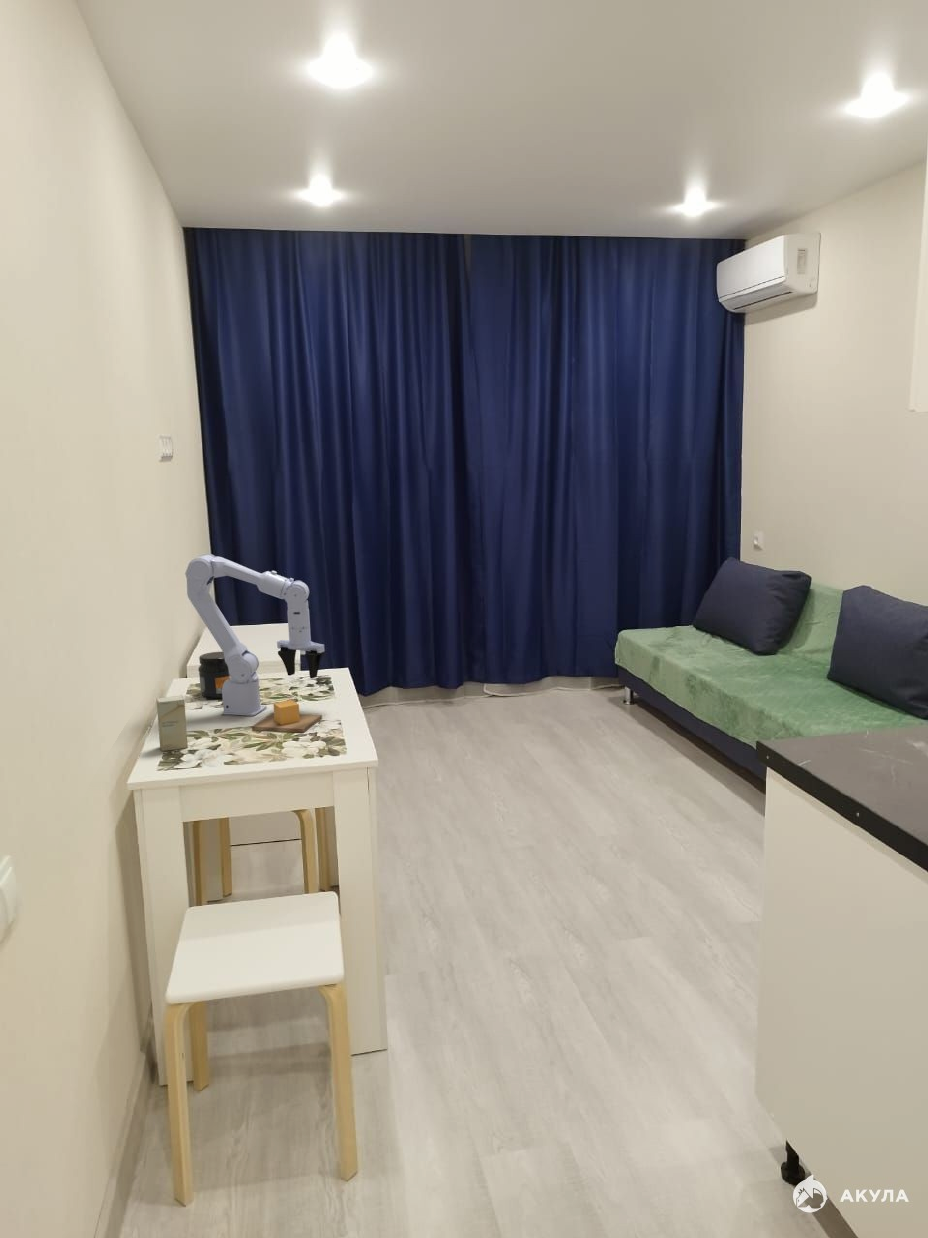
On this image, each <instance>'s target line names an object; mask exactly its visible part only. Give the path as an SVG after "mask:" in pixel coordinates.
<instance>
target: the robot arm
mask: <svg viewBox="0 0 928 1238" xmlns="http://www.w3.org/2000/svg"><path fill="white" fill-rule="evenodd" d="M277 573H278V572H277V571H276V570H271V571H269V570H267V571H264V572H262V573H261V572H259V571H256V570H254V569H251V568H248V567H246V566H245V565H244V566H243V565H242V564H239V563H237V562H234V561H232V560H229V559H227V558H224V557H222V556H216V555H214V554H212V553H204V554H201V556H199V557H197V558H196V557H195V558H193V559H191V561H190V562H189V563H188V566H187V567H186V570H185V572H184V574H185V577H186V593H187V594H186V595H187V598H188V599H189V601H190V602H191V605H193V607H194V609H195V611H196V612H197V614H198V615H199V617H200V618H201V620H202V622H203V623H204V624H205V627H206V628H207V629H208V631H209V633H210V634H211V636H212V637H213V639H214V640H215V642H216V643H217V645H218V647H220V649H221V652H223V653H224V658H225V662H226V664H227V666H228V669H229V675H230V677H231V679H227V680H226V681H225V682H224V684H223V687H222V697H223V699H222V707H223V708H222V709H223V712H222V714H223V715H229V716H230V715H231V716H232V715H235V716H251V717H253V716H256V715H258V714H259V713H260V712H262V711H264V710H265V709H266V708H268V707H267V705H261V693H260V682H259V681H260V680H259V675H258V674H257V672H256V671H257V670H258V668H259V666H260V661H259V658H258V657H257V655H255V654H254V653H253V652H251V651H250V650H249V649H248V647H247V646H246V645H245V644H243V643H242V642H241V641H240V640H239V638H238V636H237V634H236V633H235V632H234V630H233V628H232V627H231V625H230V624H229V622H228V621H227V619H226V617H225V616H224V614H223V613H222V611H221V610H220V608H219V607H218V605H217V603H216V601H215V600H214V598H213V597H212V596H211V593H210V591H211V586H212V584H213V581H214V579H215V578H221V577H226V576H228V577H231V578H234V579H236V580H237V579H238V580H240V581H244V582H247V583H250V584H252V585H256V587H257V588H258V591H259V592H261V593H264V594H266V595H270V596H272V597H275V598H278V599H281V600H284V601H285V602H286V603H287V611H286V612H287V623H288V625H287V627H288V640H285V639H284V640H283V639H282V640H277V642H276V646H277V649H280V650H278V651H277V655H278V656H279V657H280V658H281V661H282V663H283V665H284V667H285V669H286V673H287V676H293V675H295V673H296V654H297V651H305V652H307V653H304V656H305V658H306V662H307V665H308V672H309V678H310V679H314V678H318V672H319V669H320V668H319V667H320V664H321V661H322V658H323V657H324V655H325V644H322V643H318V642H314V641H312V637H311V622H310V621H311V620H310V609H309V601H308V598H309V595H310V588H309V586H308V585H307V584H306V583H305V582H303V581H302V580H295V581H294V579H295V578H292V577H290V578H289V577H288V578H287V577H285V576H283V575H282V576H281V575H280V574H277Z"/></svg>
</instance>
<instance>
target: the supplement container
mask: <svg viewBox="0 0 928 1238" xmlns="http://www.w3.org/2000/svg"><path fill="white" fill-rule="evenodd" d="M198 658H199V661H198V662H199V664H200V665H199V666H198V673H199V674H198V675H199V676H198V677H199V685H200V695H201V697H202V698H204V699H206V700H223V697H222V687H223V684H224V682H225V681H226V680H227V679H231V677H230V675H229V669H228V666H227V664H226V662H225V658H224V653H223V651H212V652H207V653H204V654H201V655H200V656H198Z"/></svg>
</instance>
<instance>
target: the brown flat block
mask: <svg viewBox="0 0 928 1238" xmlns="http://www.w3.org/2000/svg"><path fill="white" fill-rule="evenodd" d="M299 716H300V721H299V722H293V723H288V724H283V725H281V724H279V723H278V722H277V721H275V719H274V712H271V713H269V714H268V715H267V716H266V717H264V718H262V719H261V720H260V721H258V722H257V723H255V724H253V725H252V726H251V730H252V731H257V732H258V731H260V732H262V731H263V732H275V733H276V732H280V733H299V734H304V733H305V732H307V731H308V730H309V729H310V728H312V727H313V726H315V725H316V724H317V723H318V722H320V721H321V720H322V719H323V715H322V714H311V713H310V714H307V713H306V714H305V713H299Z"/></svg>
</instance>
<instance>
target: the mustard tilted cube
mask: <svg viewBox="0 0 928 1238" xmlns="http://www.w3.org/2000/svg"><path fill="white" fill-rule="evenodd" d="M272 706H273V713H274V719H275V721H277V722H278V723H279V724H281V725H283V724H288V723H293V722H299V721H300V716H299V714H300V705H299V703H297V702H296V701H295V700H292V699H289V700H285V701H279V702H274V703H273V705H272Z"/></svg>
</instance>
